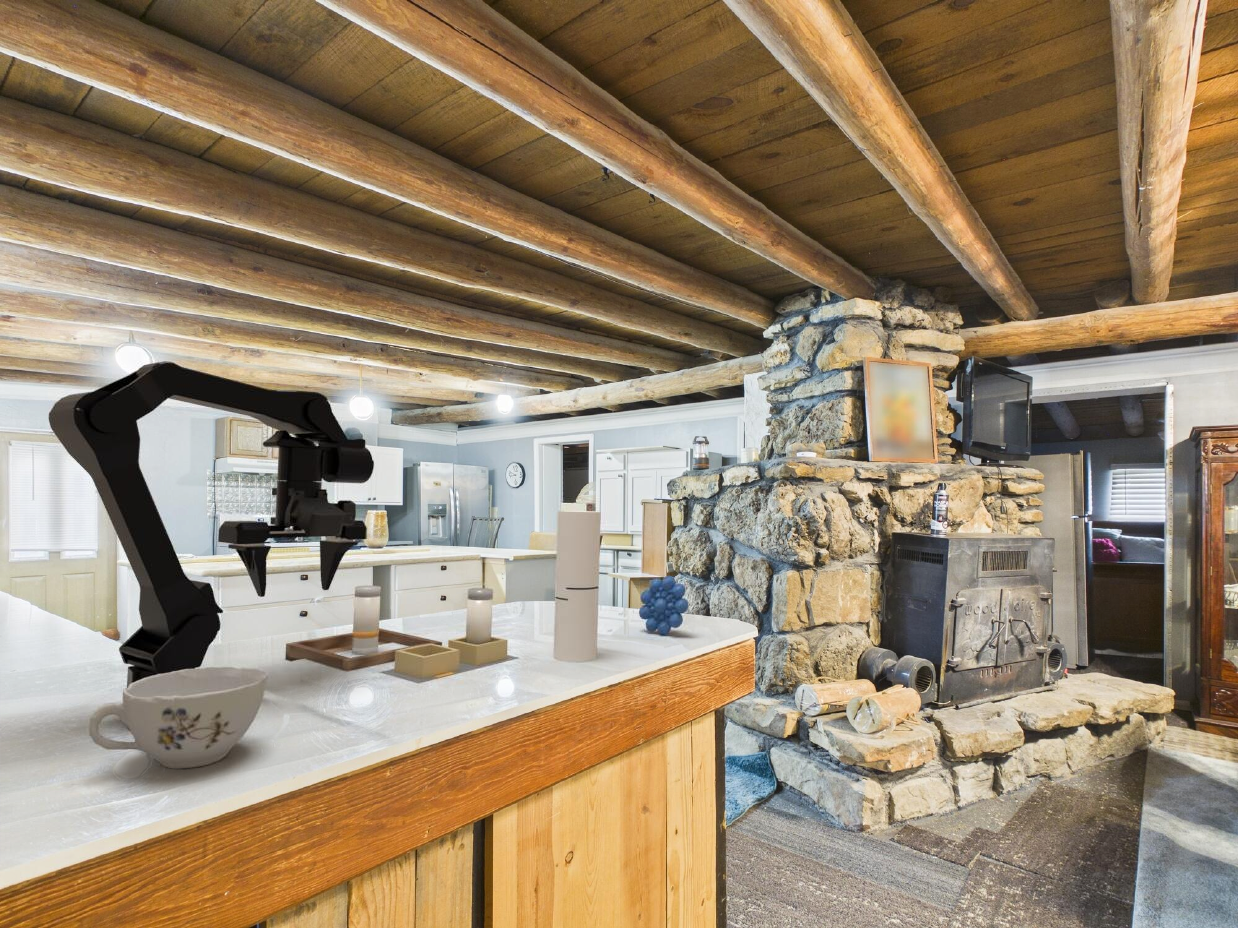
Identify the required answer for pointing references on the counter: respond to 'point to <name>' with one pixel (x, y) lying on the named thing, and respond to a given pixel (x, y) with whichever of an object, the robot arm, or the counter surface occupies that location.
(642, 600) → the grapes
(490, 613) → the cylinder
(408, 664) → the block
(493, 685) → the counter surface
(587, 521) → the cylindrical container
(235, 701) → the teacup
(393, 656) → the tray
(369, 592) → the ball
